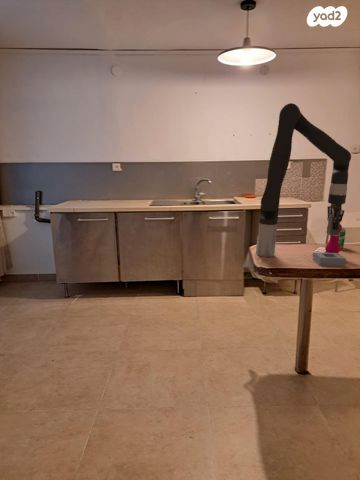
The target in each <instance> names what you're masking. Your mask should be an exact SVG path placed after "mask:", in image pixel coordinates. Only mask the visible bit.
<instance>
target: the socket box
mask: <svg viewBox="0 0 360 480" xmlns="http://www.w3.org/2000/svg"><path fill="white" fill-rule="evenodd" d="M312 260H313V261H314V262H315V263H316V264H317V265H318V266H322V267H323V266H327V267H345V266H346V261H347V258H345V257H344V256H343V255H342V254H340V252H339V253H326V252H318V251H313V257H312Z"/></svg>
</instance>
